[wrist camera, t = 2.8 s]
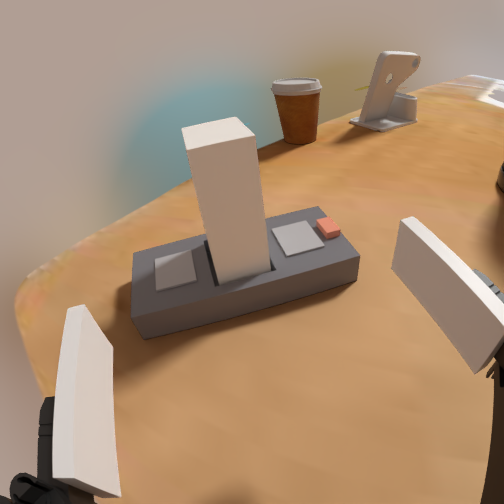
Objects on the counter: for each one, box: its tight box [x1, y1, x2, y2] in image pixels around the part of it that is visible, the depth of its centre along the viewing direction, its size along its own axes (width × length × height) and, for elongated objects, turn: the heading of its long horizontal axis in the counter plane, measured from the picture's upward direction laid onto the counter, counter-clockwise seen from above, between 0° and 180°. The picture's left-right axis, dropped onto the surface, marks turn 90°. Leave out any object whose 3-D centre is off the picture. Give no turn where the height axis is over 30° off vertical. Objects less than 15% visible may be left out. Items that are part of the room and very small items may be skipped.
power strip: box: [131, 206, 360, 340], centre depth 30 cm, size 20×9×4 cm, turn 105°
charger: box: [182, 117, 271, 286], centre depth 26 cm, size 4×6×13 cm
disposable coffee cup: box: [271, 78, 322, 144], centre depth 56 cm, size 10×10×12 cm
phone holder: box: [350, 51, 420, 132], centre depth 61 cm, size 17×10×18 cm, turn 123°
